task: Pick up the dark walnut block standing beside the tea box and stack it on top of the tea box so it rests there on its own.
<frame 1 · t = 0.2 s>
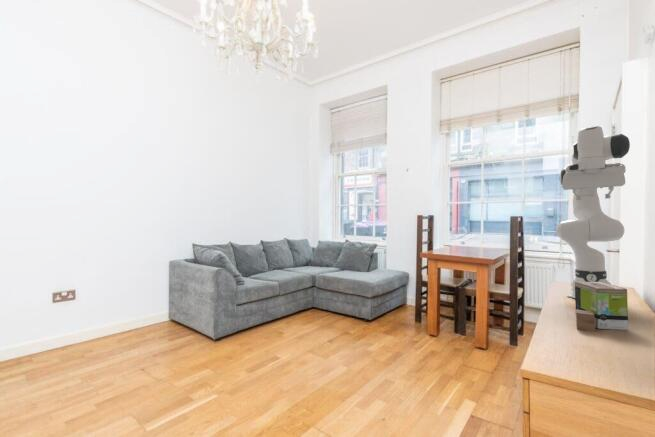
hand: (592, 199, 135), 48 cm above the table, tool pointing down, fingers open, 8 cm apart
walnut block: (585, 328, 118), on the table
tea box: (600, 323, 124), on the table
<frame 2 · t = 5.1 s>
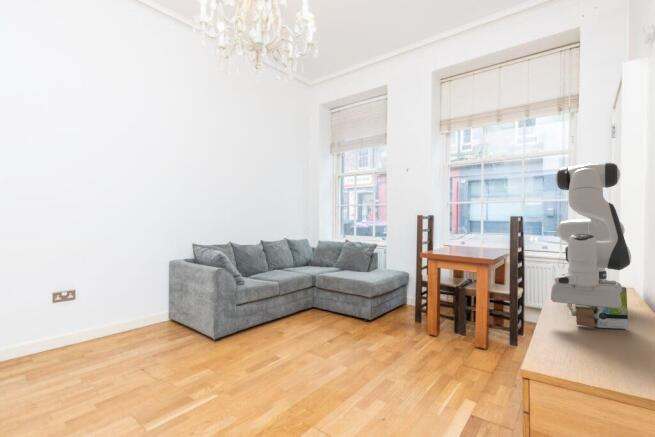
hand: (584, 317, 119), 4 cm above the table, tool pointing down, fingers closed on walnut block, 5 cm apart
walnut block: (585, 323, 119), point 1 cm above the table, touching gripper
everything else where it was.
when the fingers open (19 cm above the table, at t = 9.7 s): walnut block drops 1 cm, resting on tea box.
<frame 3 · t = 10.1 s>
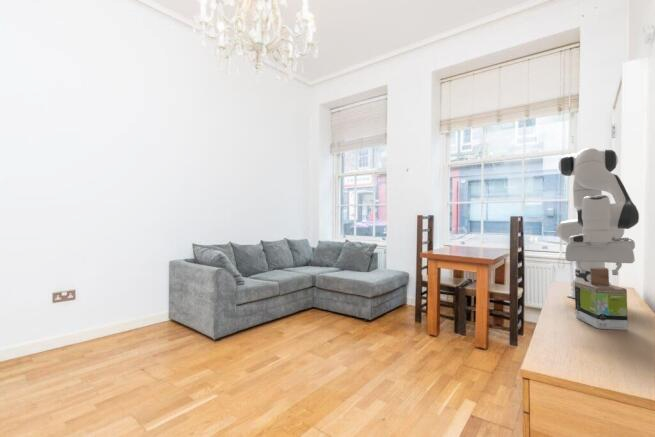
hand: (598, 274, 124), 19 cm above the table, tool pointing down, fingers open, 8 cm apart
walnut block: (599, 284, 124), point 15 cm above the table, touching tea box
tea box: (600, 324, 124), on the table, touching walnut block
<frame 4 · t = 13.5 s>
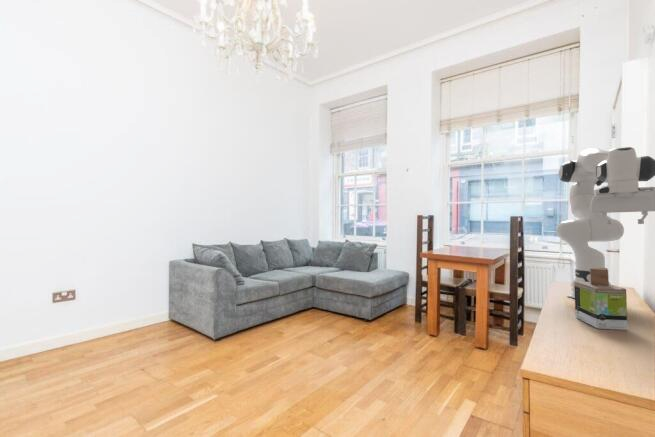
hand: (624, 224, 127), 37 cm above the table, tool pointing down, fingers open, 8 cm apart
nothing on the table moved.
at the end: walnut block inside the target area on the tea box (0.4 cm from its centre), point 15.0 cm above the tea box's base; walnut block tilted 0°; walnut block touching tea box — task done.
